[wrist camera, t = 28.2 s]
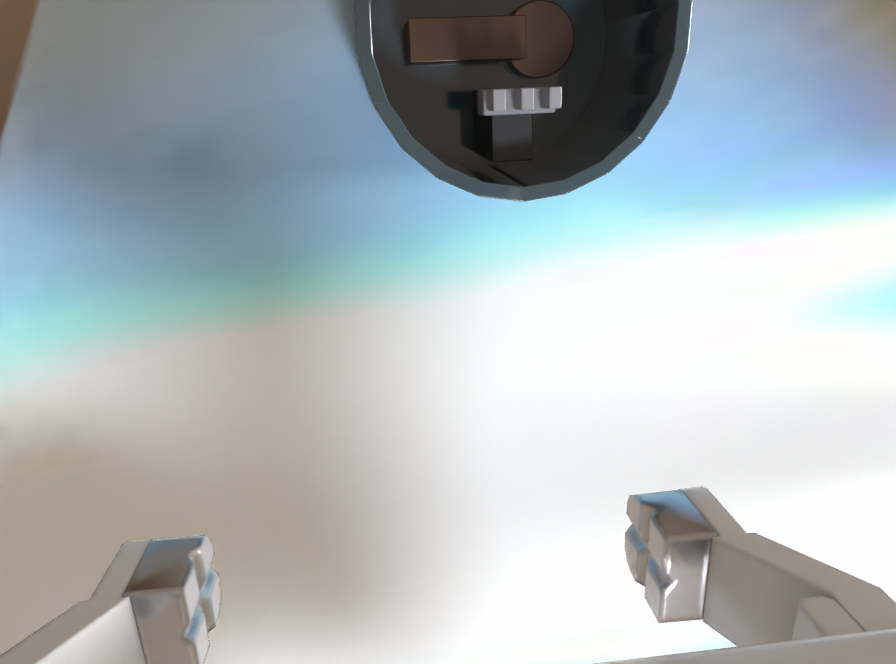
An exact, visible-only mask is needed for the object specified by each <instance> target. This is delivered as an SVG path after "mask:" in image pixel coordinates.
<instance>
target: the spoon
mask: <svg viewBox="0 0 896 664" xmlns="http://www.w3.org/2000/svg"><path fill="white" fill-rule="evenodd" d="M405 44H406V63H407V65H408V66H409V65H438V64H467V63H496V62H506V64H507V65H508V67H509V68H510V69H511V70H512V71H513V72H515V73H516V74H518V75H520V76H522V77H525V78H533V79H534V78H544V77H548V76H550V75H553V74H554V73H556V72H557V71H559V70H560V69H561V68H562V67H563V66H564V65H565V64H566V62H567V61H568V59H569V58H570V55H571V53H572V50H573V46H574V28H573V25H572V22H571V19H570V18H569V16H568V14H567V13H566V12H565V10H564V9H563V8H562V7H560V6H559V5H558V4H556V3H554V2H551V1H548V0H534V1H530V2H528V3H525V4H524V5H522V6H520V7H519V8H517V9H516V10H514V11H513V12H512V13H511V14H510V15H499V16H463V17H427V18H408V20H407V22H406V24H405Z"/></svg>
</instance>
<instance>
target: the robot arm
mask: <svg viewBox="0 0 896 664" xmlns="http://www.w3.org/2000/svg"><path fill="white" fill-rule="evenodd" d="M626 514H627V515H628V517H629V518H630V520H631V522H632V525H631V526H630V527H629V528H628V530H627V531H626V532H625V551H626V558H627V563H628V565H629V568H630V571H631V573H632V575H633V577H634V579H635V581H637V582H638V583H640V584H642V585H643V586H645V599H646V601H647V603H648V604H649V606H650V608H651V610H652V611H653V613H654V615H655V617H656V619H657V620H658V622H659V623H664V622H676V621H688V620H700V619H703V622H705V623H706V624H708V625H709V626H710V627H712V628H713V629H714V630H716V631H717V632H718V633H720V634H721V635H723V636H724V637H725V638H727V639H728V640H729V641H731V642H732V643H734V644H735V645H736V646H738V647H731V648H722V649H714V650H705V651H697V652H688V653H680V654H671V655H663V656H655V657H646V658H638V659H629V660H621V661H612V662H604V663H595V664H896V603H895V602H894V601H893V600H892V599H891V598H890V597H889V596H888V595H887V594H886V593H885V592H884V591H883V590H882V589H881V588H879V587H877V586H875V585H872V584H870V583H868V582H865V581H863V580H861V579H859V578H856V577H854V576H852V575H849V574H847V573H845V572H843V571H840V570H838V569H836V568H833V567H831V566H829V565H827V564H824V563H822V562H820V561H818V560H815V559H813V558H811V557H808V556H806V555H804V554H802V553H799V552H797V551H795V550H792V549H790V548H788V547H786V546H783V545H781V544H779V543H776V542H774V541H772V540H770V539H767V538H765V537H763V536H760V535H758V534H756V533H746V532H745V531H744V530H743V528H742V527H741V526H740V525H739V524H738V523H737V522H736V521H735V519H734V518H733V517H732V516H731V515H730V514H729V513H728V512H727V510H726V509H725V508H724V507H723V506H722V505H721V504H720V503H719V501H718V500H717V499H716V498H715V497H714V496H713V495H712V493H711V492H710V491H709V490H708V489H707V488H705V487H702V486H701V487H693V488H685V489H678V490H674V491H665V492H656V493H647V494H638V495H630V496H629V499H628V502H627V513H626ZM214 554H215V552H214V548H213V543H212V539H211V538H210V537H209V536H208V535H199V536H186V537H172V538H159V539H154V540H153V539H146V540H136V541H127V542H125V543H124V544H122V545H121V546H120V548H119V550H118V551H117V553H116V555H115V557H114V558H113V560H112V562H111V563H110V565H109V567H108V568H107V570H106V572H105V574H104V575H103V577H102V579H101V580H100V582H99V584H98V586H97V587H96V589H95V591H94V592H93V594H92V596H91V597H90V599H89V601H82V602H79V603H77V604H76V605H74V606H73V607H71V608H70V609H68V610H67V611H66V612H64V613H63V614H61V615H60V616H58V617H57V618H55V619H54V620H52V621H51V622H49V623H48V624H46V625H45V626H43V627H42V628H40V629H39V630H37V631H36V632H34V633H33V634H31V635H30V636H28V637H27V638H25V639H24V640H22V641H21V642H19V643H18V644H16V645H15V646H13V647H12V648H10V649H9V650H7V651H6V652H4V653H3V654H1V655H0V664H204V663H205V660H206V657H207V653H208V650H209V647H210V642H209V637H208V633H209V632H210V631H211V630H212V629H213V628H214V627H215V626H216V624H217V620H218V617H219V613H220V604H221V586H220V579H219V573H217V572H216V571H215V570H214V569H213V568H212V567H211V563H212V560H213V557H214Z"/></svg>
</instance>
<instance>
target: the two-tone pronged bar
mask: <svg viewBox="0 0 896 664" xmlns="http://www.w3.org/2000/svg"><path fill="white" fill-rule="evenodd" d="M561 107H562V87H560V86H559V87H536V88H513V89H489V90H473V115H474V152H475V153H477V154H479V155H481V156H483V157H484V158H486V159H488V160H490V161H492V162H507V161H525V160H532V127H533V114H537V113H553V112H555V109H558V108H561Z"/></svg>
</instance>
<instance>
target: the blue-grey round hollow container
mask: <svg viewBox="0 0 896 664" xmlns="http://www.w3.org/2000/svg"><path fill="white" fill-rule="evenodd" d="M530 1H534V0H354V18H355V35H356V52H357V59H358V62H359V66H360V69H361V72H362V75H363V78H364V81H365V84H366V87H367V90H368V93H369V96H370V99H371V102H372V104H373V106H374V108H375V110H376V111H377V113H378V114H379V116H380V117H381V119H382V120H383V122H384V123H385V125H386V126H387V128H388V129H389V130H390V132H391V133H392V135H393V136H394V138H395V139H396V141H397V142H398V144H399V145H400V147H402V149H403V150H404V151H405V152H406V153H408V154H409V155H410V156H411V157H412V158H414V159H415V160H416V161H417V162H418V163H420V164H421V165H422V166H423V167H424V168H425V169H427V170H428V171H429V172H430V173H431V174H433V175H434V176H435V177H436V178H438V179H440V180H442V181H444V182H446V183H449V184H451V185H453V186H456V187H458V188H460V189H463V190H465V191H467V192H470V193H472V194H474V195H476V196H480V197H486V198H495V199H504V200H513V201H521V202H522V201H530V200H535V199H541V198H546V197H552V196H557V195H563V194H566V193H569V192H571V191H573V190H575V189H577V188H579V187H581V186H583V185H585V184H587V183H589V182H591V181H593V180H595V179H597V178H599V177H601V176H603V175H605V174H607V173H609V172H610V171H611V170H612V169H613V168H614V167H616V166H617V165H618V164H619V163H620V162H621V161H622V160H623V159H624V158H626V157H627V156H628V155H629V154H630V153H631V152H632V151H633V150H635V149H636V148H637V147H638V146H639V145H640V144H641V143H642V141H644V140H645V138H646V137H647V135H648V134H649V132H650V131H651V129H652V128H653V126H654V125H655V123H656V122H657V120H658V119H659V117H660V116H661V114H662V113H663V111H664V110H665V108H666V107H667V105H668V104H669V102H670V101H669V100H671V98H672V95H673V92H674V89H675V87H676V84H677V81H678V78H679V75H680V73H681V70H682V67H683V64H684V61H685V59H686V56H687V52H688V46H689V36H690V26H691V16H692V6H693V1H692V0H548V1H551V2H554V3H556V4H558V5H559V6H560V7H562V8H563V9H564V10H565V12H566V13H567V14H568V16H569V18H570V19H571V22H572V25H573V28H574V46H573V50H572V53H571V55H570V58H569V59H568V61H567V62H566V64H565V65H564V66H563V67H562V68H561V69H560V70H559V71H557V72H556V73H554V74H553V75H550V76H548V77H544V78H534V79H533V78H525V77H522V76H520V75H518V74H516V73H515V72H513V71H512V70H511V69H510V68H509V67H508V65H507V64H506V62H496V63H467V64H438V65H409V66H408V65H407V63H406V44H405V24H406V22H407V20H408V18H427V17H463V16H499V15H510V14H511V13H512V12H513V11H514V10H516V9H517V8H519V7H520V6H522V5H524V4H525V3H528V2H530ZM559 86H560V87H562V107H561V108H558V109H555V112H553V113H537V114H533V127H532V160H525V161H507V162H492V161H490V160H488V159H486V158H484V157H483V156H481V155H479V154H477V153H475V152H474V115H473V90H489V89H513V88H536V87H559Z"/></svg>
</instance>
